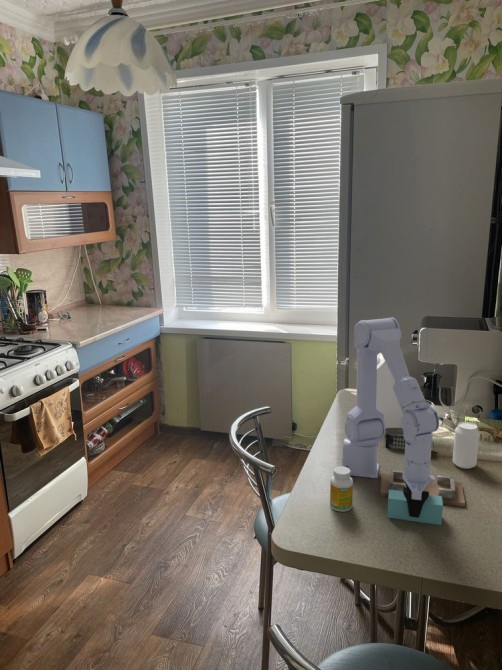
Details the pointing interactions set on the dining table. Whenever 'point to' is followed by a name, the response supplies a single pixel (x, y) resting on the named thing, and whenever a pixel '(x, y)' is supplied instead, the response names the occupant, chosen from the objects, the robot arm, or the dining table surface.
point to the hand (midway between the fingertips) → (413, 510)
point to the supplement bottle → (341, 489)
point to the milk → (387, 395)
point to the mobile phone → (395, 441)
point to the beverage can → (466, 445)
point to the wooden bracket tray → (439, 487)
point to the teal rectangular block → (428, 513)
